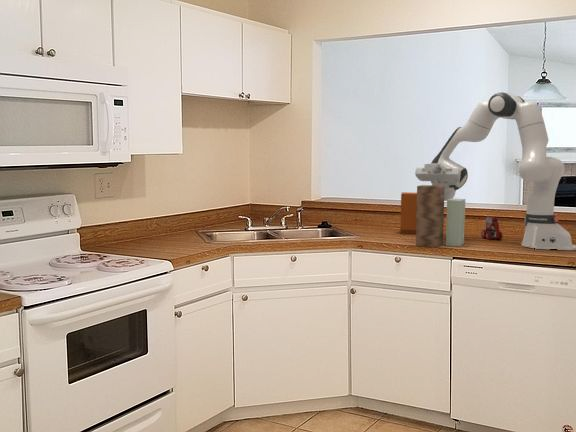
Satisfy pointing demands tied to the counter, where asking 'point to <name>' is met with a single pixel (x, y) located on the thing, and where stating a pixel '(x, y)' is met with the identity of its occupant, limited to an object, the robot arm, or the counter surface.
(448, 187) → the robot arm
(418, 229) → the walnut box
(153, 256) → the counter surface
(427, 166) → the aluminium bar
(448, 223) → the green block
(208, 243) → the counter surface
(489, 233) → the toy fire truck
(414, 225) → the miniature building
